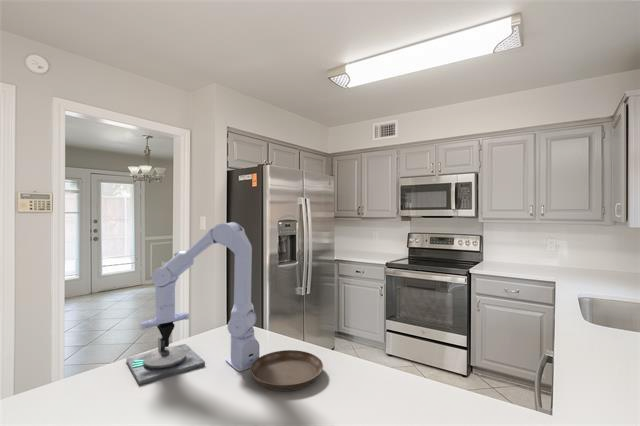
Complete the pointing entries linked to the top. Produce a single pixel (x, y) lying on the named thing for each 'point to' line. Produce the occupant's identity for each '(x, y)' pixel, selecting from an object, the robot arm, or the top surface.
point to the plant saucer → (286, 369)
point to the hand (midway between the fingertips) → (165, 346)
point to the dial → (164, 356)
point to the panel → (152, 374)
